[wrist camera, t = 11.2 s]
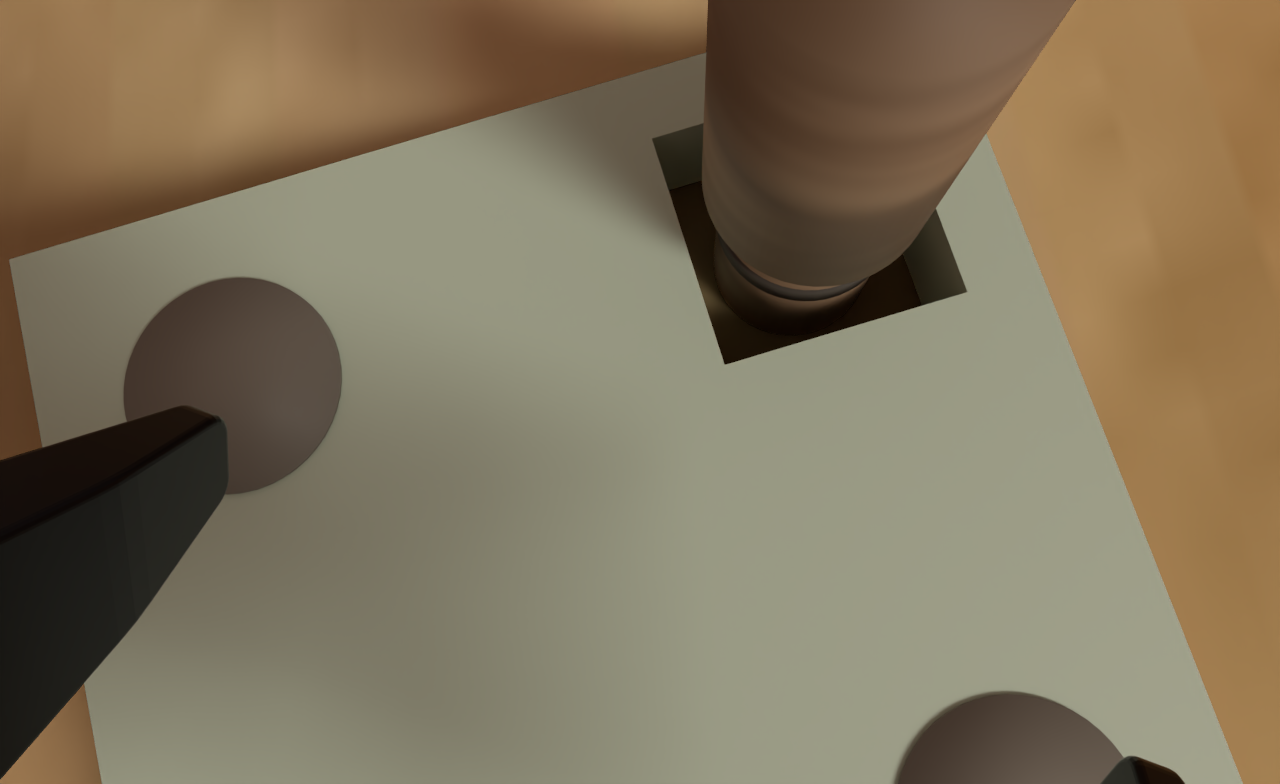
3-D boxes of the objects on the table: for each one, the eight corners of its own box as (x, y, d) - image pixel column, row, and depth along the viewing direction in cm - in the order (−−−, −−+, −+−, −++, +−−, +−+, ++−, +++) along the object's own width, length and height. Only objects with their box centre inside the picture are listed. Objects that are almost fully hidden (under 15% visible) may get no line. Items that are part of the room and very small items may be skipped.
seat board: (1230, 932, 20) (1328, 994, 17) (273, 1227, 20) (198, 1344, 17) (898, 59, 24) (929, -17, 21) (93, 299, 24) (5, 257, 21)
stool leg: (918, 282, 23) (1190, -65, 10) (768, 385, 22) (868, 152, 10) (809, 143, 23) (942, -334, 11) (662, 241, 23) (636, -139, 11)
